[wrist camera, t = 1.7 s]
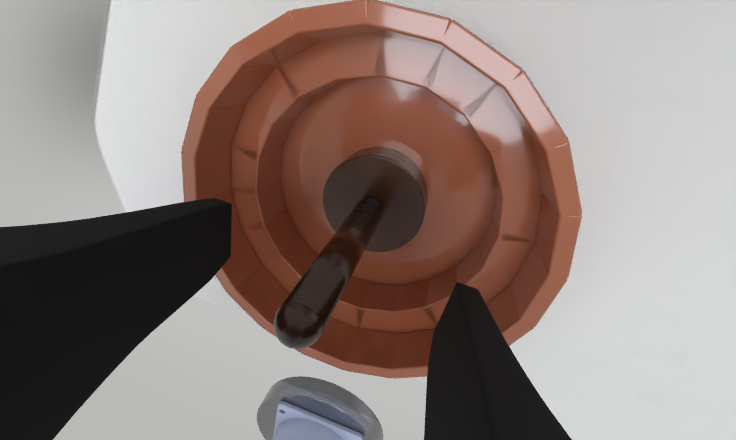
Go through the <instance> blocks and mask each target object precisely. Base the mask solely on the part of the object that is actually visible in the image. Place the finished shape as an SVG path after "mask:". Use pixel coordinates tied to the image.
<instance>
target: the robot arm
mask: <svg viewBox="0 0 736 440" xmlns="http://www.w3.org/2000/svg"><path fill="white" fill-rule="evenodd" d="M231 224H232V204H231V203H228V202H225V201H222V200H219V199H216V198H209V199H200V200H194V201H188V202H182V203H177V204H171V205H166V206H161V207H155V208H150V209H144V210H139V211H133V212H127V213H121V214H115V215H109V216H102V217H96V218H90V219H82V220H75V221H67V222H58V223H48V224H38V225H27V226H14V227H0V440H53V439H54V437H55V436H56V435H57V434H58V433H59V432H60V430H61V429H62V428H63V427H64V426H65V424H66V423H67V422H68V421H69V420H70V419H71V417H72V416H73V415H74V414H75V413H76V411H77V410H78V409H79V408H80V407H81V406H82V405H83V404H84V402H85V401H86V400H87V399H88V398H89V397H90V396H91V395H92V394H93V392H94V391H95V390H96V389H97V388H98V387H99V386H100V385H101V384H102V382H103V381H104V380H105V379H106V378H107V377H108V376H109V375H110V374H111V373H112V371H113V370H114V369H115V368H116V367H117V366H118V365H119V364H120V363H121V362H122V361H123V360H124V359H125V358H126V357H127V356H128V355H129V354H130V353H131V351H132V350H133V349H134V348H135V347H136V346H137V345H138V344H139V343H140V342H142V341H143V340H144V339H145V338H146V337H147V336H148V335H149V334H150V333H151V332H152V331H153V330H155V329H156V328H157V327H158V326H159V325H160V324H161V323H163V321H165V320H166V319H167V318H168V317H169V316H170V315H172V314H173V313H174V312H175V311H176V310H177V309H179V308H180V307H181V306H182V305H183V304H184V303H185V302H186V301H188V299H190V298H191V297H192V296H193V295H194V294H196V293H197V292H198V291H199V290H200V289H201V288H202V287H203V286H205V285H206V284H207V283H208V282H209V281H210V280H211V279H212V278H213V277H214V275H215V274H216V273H217V272H218V271H219V270H220V269H221V268H222V266H223V265H224V264H225V263H226V262H227V260H228V259H229V258H230V257H231ZM363 439H364V436H363V435H362V434H361V433H359V432H357V431H355V430H352V429H350V428H347V427H345V426H343V425H340V424H338V423H336V422H333V421H331V420H328V419H326V418H324V417H321V416H319V415H317V414H314V413H312V412H309V411H307V410H305V409H302V408H300V407H298V406H295V405H293V404H290V403H288V402H286V401H280V403H279V405H278V408H277V415H276V421H275V427H274V434H273V440H363ZM424 440H571V438H570V437H569V436H568V434H567V433H566V431H565V430H564V429H563V427H562V426H561V425H560V423H559V422H558V421H557V419H556V418H555V416H554V415H553V414H552V412H551V411H550V410H549V408H548V407H547V405H546V404H545V402H544V401H543V400H542V398H541V397H540V395H539V394H538V392H537V391H536V389H535V388H534V386H533V384H532V383H531V381H530V380H529V378H528V377H527V375H526V374H525V372H524V370H523V369H522V367H521V366H520V364H519V362H518V361H517V359H516V357H515V356H514V354H513V352H512V351H511V349H510V347H509V346H508V344H507V342H506V340H505V338H504V337H503V335H502V333H501V331H500V329H499V328H498V326H497V324H496V322H495V320H494V318H493V316H492V315H491V313H490V311H489V309H488V307H487V305H486V303H485V301H484V299H483V297H482V295H481V294H480V292H479V290H478V289H476V288H473V287H470V286H467V285H465V284H462V283H459V282H457V283H456V285H455V287H454V289H453V291H452V294H451V296H450V298H449V300H448V302H447V304H446V306H445V308H444V311H443V313H442V315H441V317H440V319H439V321H438V323H437V325H436V327H435V330H434V332H433V338H432V344H431V349H430V355H429V361H428V374H427V393H426V413H425V435H424Z"/></svg>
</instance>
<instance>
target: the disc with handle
mask: <svg viewBox="0 0 736 440" xmlns="http://www.w3.org/2000/svg"><path fill="white" fill-rule="evenodd" d="M427 200H428V191H427V185H426V182H425V179H424V177H423V175H422V173H421V171H420V170H419V168H418V167H417V166H416V164H415V163H414V162H413V161H412V160H410V159H409V158H408V157H407V156H405V155H404V154H402V153H400V152H398V151H395V150H393V149H389V148H384V147H371V148H366V149H363V150H360V151H358V152H356V153H354V154H352V155H351V156H349V157H348V158H347V159H346V160H345V161H343V162H342V163H341V164H340V165H338V166H337V167H336V168H335V169H334V170H333V172H332V173H331V174H330V176H329V178H328V179H327V182H326V184H325V188H324V193H323V205H324V210H325V214H326V217H327V219H328V221H329V223H330V225H331V226H332V228H333V229H334V230H335V232H336V233H335V234H334V235H333V237H332V238H331V239H330V241H329V242H328V243H327V245H326V246H325V247H324V249H323V250H322V251H321V253H320V254H319V255H318V257H317V258H316V259H315V261H314V262H313V263H312V265H311V266H310V267H309V269H308V270H307V271H306V273H305V274H304V275H303V277H302V278H301V279H300V281H299V282H298V283H297V285H296V286H295V287H294V289H293V290H292V291H291V293H290V294H289V295H288V297H287V298H286V299H285V301H284V302H283V303H282V305H281V306H280V307H279V309H278V311H277V313H276V315H275V318H274V330H275V334H276V336H277V338H278V339H279V341H280V342H281V343H282V344H284V345H285V346H287V347H289V348H294V349H302V348H306V347H308V346H310V345H312V344H313V343H315V342H316V341H317V340H318V338H319V337H320V336H321V334H322V332H323V330H324V328H325V326H326V324H327V322H328V321H329V319H330V317H331V315H332V313H333V311H334V309H335V307H336V305H337V303H338V301H339V299H340V297H341V295H342V293H343V291H344V290H345V288H346V286H347V284H348V282H349V280H350V278H351V276H352V274H353V272H354V270H355V268H356V266H357V264H358V262H359V261H360V259H361V257H362V255H363V253H364V251H365V250H366V251H371V252H386V251H391V250H394V249H397V248H399V247H402V246H403V245H405V244H407V243H408V242H409V241H410V240H411V239H413V237H414V236H415V235H416V234H417V232H418V231H419V229H420V227H421V225H422V222H423V219H424V215H425V210H426V206H427Z"/></svg>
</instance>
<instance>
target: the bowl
mask: <svg viewBox="0 0 736 440" xmlns="http://www.w3.org/2000/svg"><path fill="white" fill-rule="evenodd" d="M371 147H384V148H389V149H393V150H395V151H398V152H400V153H402V154H404V155H405V156H407V157H408V158H409V159H410V160H412V161H413V162H414V163H415V164H416V166H417V167H418V168H419V170H420V171H421V173H422V175H423V177H424V179H425V182H426V185H427V191H428V200H427V206H426V210H425V215H424V219H423V222H422V225H421V227H420V229H419V231H418V232H417V234H416V235H415V236H414V237H413V239H411V240H410V241H409V242H408V243H407V244H405V245H403V246H402V247H399V248H397V249H394V250H391V251H386V252H371V251H366V250H365V251H364V253H363V255H362V257H361V259H360V261H359V262H358V264H357V266H356V268H355V270H354V272H353V274H352V276H351V278H350V280H349V282H348V284H347V286H346V288H345V290H344V291H343V293H342V295H341V297H340V299H339V301H338V303H337V305H336V307H335V309H334V311H333V313H332V315H331V317H330V319H329V321H328V322H327V324H326V326H325V328H324V330H323V332H322V334H321V336H320V337H319V338H318V340H317V341H316V342H315V343H313V344H312V345H310V346H308V347H306V348H302V349H296V350H297V351H299V352H301V353H302V354H304V355H307V356H309V357H312V358H314V359H317V360H319V361H322V362H324V363H327V364H329V365H332V366H335V367H337V368H339V369H342V370H346V371H350V372H357V373H363V374H368V375H374V376H380V377H386V378H409V377H425V376H427V374H428V361H429V355H430V349H431V344H432V338H433V332H434V330H435V327H436V325H437V323H438V321H439V319H440V317H441V315H442V313H443V311H444V308H445V306H446V304H447V302H448V300H449V298H450V296H451V294H452V291H453V289H454V287H455V285H456V283H457V282H459V283H462V284H465V285H467V286H470V287H473V288H476V289H478V290H479V292H480V294H481V295H482V297H483V299H484V301H485V303H486V305H487V307H488V309H489V311H490V313H491V315H492V316H493V318H494V320H495V322H496V324H497V326H498V328H499V329H500V331H501V333H502V335H503V337H504V338H505V340H506V342H507V344H508V346H510V345H511V344H512V343H514V342H515V341H517V340H518V339H519V338H521V337H522V336H524V335H525V334H526V333H528V332H529V331H530V330H532V329H533V328H534V327H535V326H536V325H537V323H538V322H539V321H540V319H541V318H542V316H543V315H544V313H545V312H546V310H547V309H548V307H549V306H550V304H551V303H552V302H553V300H554V299H555V297H556V296H557V294H558V293H559V291H560V290H561V288H562V287H563V285H564V284H565V283H566V281H567V278H568V277H569V272H570V268H571V263H572V259H573V254H574V250H575V245H576V241H577V236H578V231H579V227H580V222H581V218H582V215H581V214H582V209H581V203H580V198H579V192H578V187H577V181H576V176H575V170H574V165H573V159H572V154H571V148H570V143H569V142H568V138H567V136H566V135H565V133H564V132H563V130H562V128H561V127H560V125H559V124H558V122H557V121H556V119H555V118H554V116H553V114H552V113H551V111H550V110H549V108H548V107H547V105H546V104H545V102H544V100H543V99H542V97H541V96H540V94H539V93H538V91H537V90H536V88H535V86H534V85H533V83H532V82H531V80H530V79H529V77H528V76H527V74H526V72H524V71H522V68H521V67H519V66H518V65H516V64H515V63H514V62H512V61H511V60H509V59H508V58H507V57H505V56H504V55H502V54H501V53H500V52H498V51H497V50H495V49H494V48H493V47H491V46H490V45H488V44H487V43H485V42H484V41H483V40H481V39H480V38H478V37H477V36H476V35H474V34H473V33H471V32H470V31H469V30H467V29H466V28H464V27H463V26H462V25H460V24H459V23H457V22H456V21H455V20H451V19H450V18H448V17H444V16H440V15H435V14H431V13H427V12H423V11H419V10H415V9H411V8H407V7H403V6H399V5H395V4H391V3H387V2H382V1H378V0H352V1H346V2H339V3H332V4H326V5H319V6H312V7H306V8H299V9H293V10H292V11H288V12H286V13H284V14H283V15H281V16H280V17H278V18H276V19H275V20H273V21H271V22H270V23H268V24H267V25H265V26H263V27H262V28H260V29H259V30H257V31H255V32H254V33H252V34H250V35H249V36H247V37H246V38H244V39H242V40H241V41H239V42H237V43H236V44H234V45H233V46H232V47H230V49H229V50H228V52H227V53H226V54H225V56H224V57H223V59H222V60H221V61H220V63H219V64H218V66H217V67H216V68H215V70H214V71H213V73H212V74H211V75H210V77H209V78H208V80H207V81H206V82H205V84H204V85H203V86H202V88H201V89H200V91H199V92H198V93H197V95H196V98H195V101H194V105H193V109H192V112H191V116H190V120H189V124H188V128H187V131H186V135H185V139H184V143H183V146H182V152H181V154H182V171H183V189H184V202H188V201H194V200H200V199H209V198H216V199H219V200H222V201H225V202H228V203H231V204H232V224H231V257H230V258H229V259H228V260H227V262H226V263H225V264H224V265H223V266H222V268H221V269H220V270H219V271H218V272H217V273H216V274H215V275H216V277H217V278H218V280H219V281H220V283H221V284H222V286H223V287H224V289H225V291H226V292H228V294H229V295H230V296H231V297H232V298H233V299H234V300H235V301H236V302H237V303H238V304H239V305H240V306H241V307H242V308H243V309H244V310H245V311H246V312H247V313H248V314H249V315H250V316H251V317H252V318H253V319H254V320H255V321H256V322H257V323H258V324H259V325H260V326H262V328H264V329H266V330H267V331H268V332H270V333H271V334H273V335H274V336H276V334H275V330H274V318H275V315H276V313H277V311H278V309H279V307H280V306H281V305H282V303H283V302H284V301H285V299H286V298H287V297H288V295H289V294H290V293H291V291H292V290H293V289H294V287H295V286H296V285H297V283H298V282H299V281H300V279H301V278H302V277H303V275H304V274H305V273H306V271H307V270H308V269H309V267H310V266H311V265H312V263H313V262H314V261H315V259H316V258H317V257H318V255H319V254H320V253H321V251H322V250H323V249H324V247H325V246H326V245H327V243H328V242H329V241H330V239H331V238H332V237H333V235H334V234H335V233H336V232H335V230H334V229H333V228H332V226H331V225H330V223H329V221H328V219H327V217H326V214H325V210H324V205H323V193H324V188H325V184H326V182H327V179H328V178H329V176H330V174H331V173H332V172H333V170H334V169H335V168H336V167H337V166H338V165H340V164H341V163H342V162H343V161H345V160H346V159H347V158H348V157H349V156H351V155H352V154H354V153H356V152H358V151H360V150H363V149H366V148H371ZM276 337H277V336H276Z"/></svg>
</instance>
